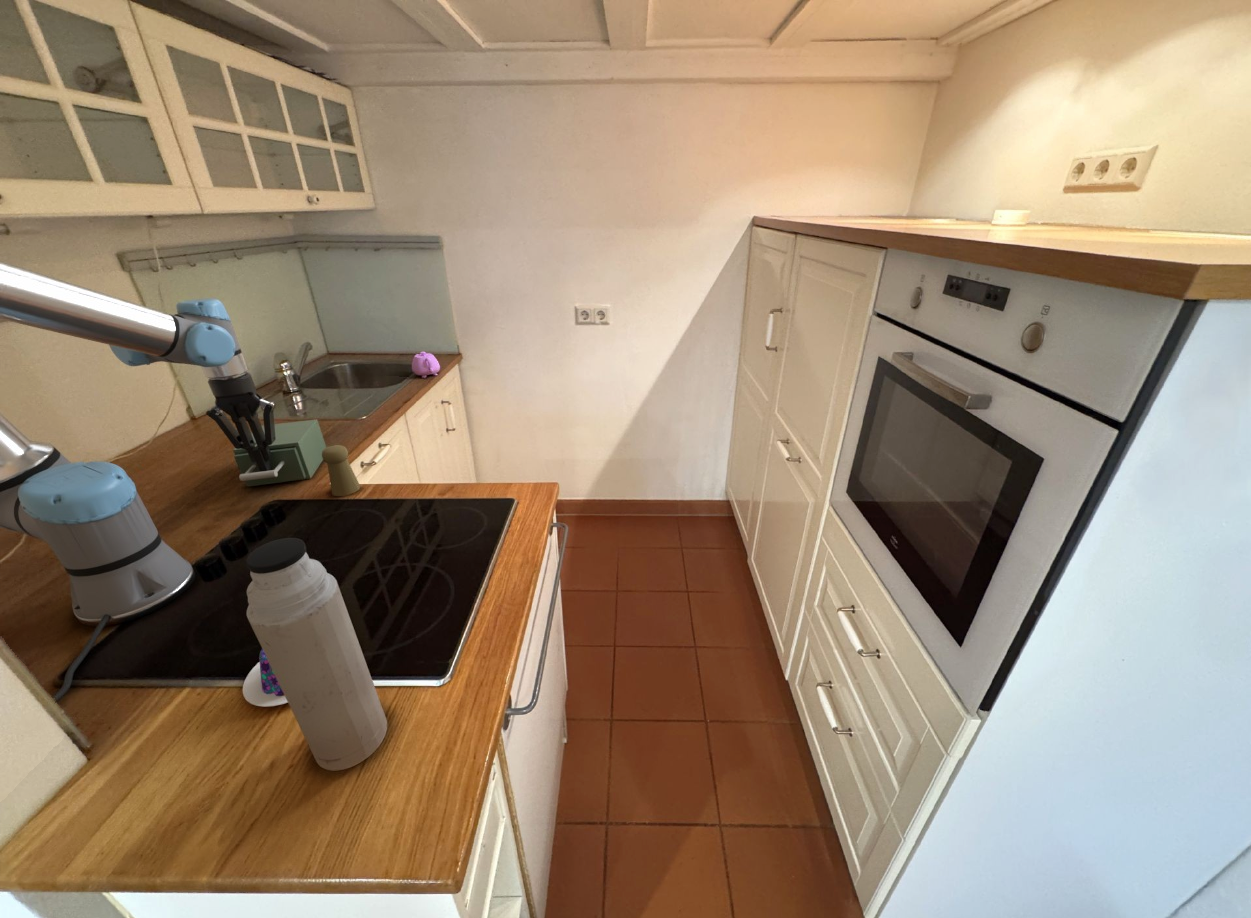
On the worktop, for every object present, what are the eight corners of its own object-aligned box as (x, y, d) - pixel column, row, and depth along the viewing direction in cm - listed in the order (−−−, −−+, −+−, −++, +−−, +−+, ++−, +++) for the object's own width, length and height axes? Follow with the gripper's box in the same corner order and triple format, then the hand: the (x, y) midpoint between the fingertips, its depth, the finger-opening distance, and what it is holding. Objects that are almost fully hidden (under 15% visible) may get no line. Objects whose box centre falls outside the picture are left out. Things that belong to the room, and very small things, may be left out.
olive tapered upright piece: (326, 492, 116) (311, 450, 112) (349, 481, 121) (336, 440, 116) (342, 498, 114) (328, 455, 109) (366, 486, 119) (353, 444, 114)
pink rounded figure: (420, 380, 196) (415, 357, 192) (407, 373, 207) (402, 350, 203) (446, 375, 202) (441, 352, 198) (432, 368, 213) (427, 346, 209)
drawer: (295, 491, 115) (284, 461, 112) (233, 500, 113) (220, 469, 109) (321, 454, 134) (312, 426, 131) (269, 460, 131) (258, 432, 128)
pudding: (305, 630, 77) (294, 604, 75) (362, 652, 73) (352, 625, 70) (224, 693, 67) (208, 665, 65) (284, 723, 63) (270, 694, 60)
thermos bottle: (298, 760, 58) (202, 569, 46) (350, 702, 65) (278, 522, 53) (353, 779, 56) (268, 583, 44) (401, 717, 63) (339, 533, 51)
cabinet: (310, 478, 123) (298, 442, 119) (247, 486, 120) (232, 450, 116) (328, 452, 137) (317, 419, 133) (272, 459, 134) (259, 425, 130)
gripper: (269, 367, 111) (303, 462, 121) (202, 373, 108) (242, 469, 118) (255, 376, 104) (293, 476, 115) (183, 383, 101) (228, 484, 112)
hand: (267, 472), depth 116 cm, fingers closed
